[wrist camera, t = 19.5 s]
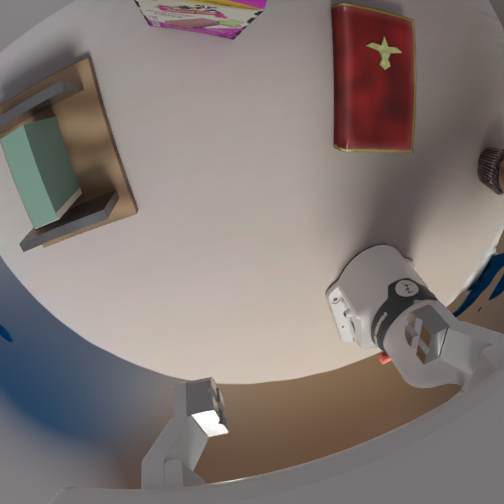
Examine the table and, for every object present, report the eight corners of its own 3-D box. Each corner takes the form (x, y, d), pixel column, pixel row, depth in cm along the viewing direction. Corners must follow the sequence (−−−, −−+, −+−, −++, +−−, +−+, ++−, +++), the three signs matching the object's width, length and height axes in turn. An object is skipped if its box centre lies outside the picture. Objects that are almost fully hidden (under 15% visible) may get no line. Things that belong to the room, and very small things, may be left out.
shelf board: (138, 209, 40) (136, 213, 39) (47, 242, 39) (43, 247, 38) (91, 58, 29) (87, 57, 28) (-3, 110, 28) (-8, 111, 27)
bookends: (119, 198, 37) (107, 219, 32) (43, 228, 37) (23, 252, 31) (81, 81, 29) (60, 80, 23) (4, 124, 28) (-24, 133, 22)
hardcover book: (331, 146, 42) (344, 152, 38) (328, 7, 31) (341, 1, 28) (397, 147, 43) (413, 153, 40) (398, 22, 33) (415, 19, 29)
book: (56, 115, 30) (23, 124, 23) (82, 192, 36) (58, 219, 28) (34, 127, 30) (-1, 139, 22) (61, 201, 36) (35, 229, 28)
